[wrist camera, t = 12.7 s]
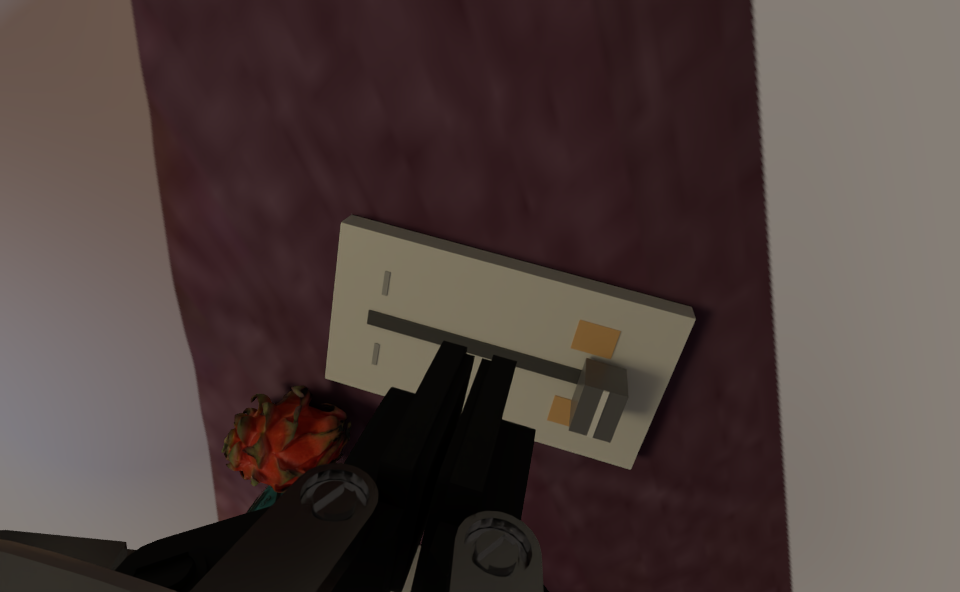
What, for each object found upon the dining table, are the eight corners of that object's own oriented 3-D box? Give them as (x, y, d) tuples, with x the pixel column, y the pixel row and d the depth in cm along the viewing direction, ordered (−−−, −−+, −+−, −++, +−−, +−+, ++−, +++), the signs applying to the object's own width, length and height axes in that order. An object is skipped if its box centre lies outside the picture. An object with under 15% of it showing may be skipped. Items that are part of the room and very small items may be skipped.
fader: (586, 357, 42) (584, 385, 38) (626, 369, 41) (628, 398, 38) (571, 401, 43) (568, 431, 40) (609, 412, 43) (610, 443, 40)
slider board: (351, 214, 43) (339, 223, 41) (691, 306, 41) (696, 320, 39) (335, 366, 49) (323, 379, 47) (629, 453, 47) (630, 471, 45)
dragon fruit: (252, 405, 55) (368, 381, 54) (259, 497, 53) (380, 474, 51) (193, 401, 47) (327, 372, 46) (198, 508, 45) (339, 482, 43)
